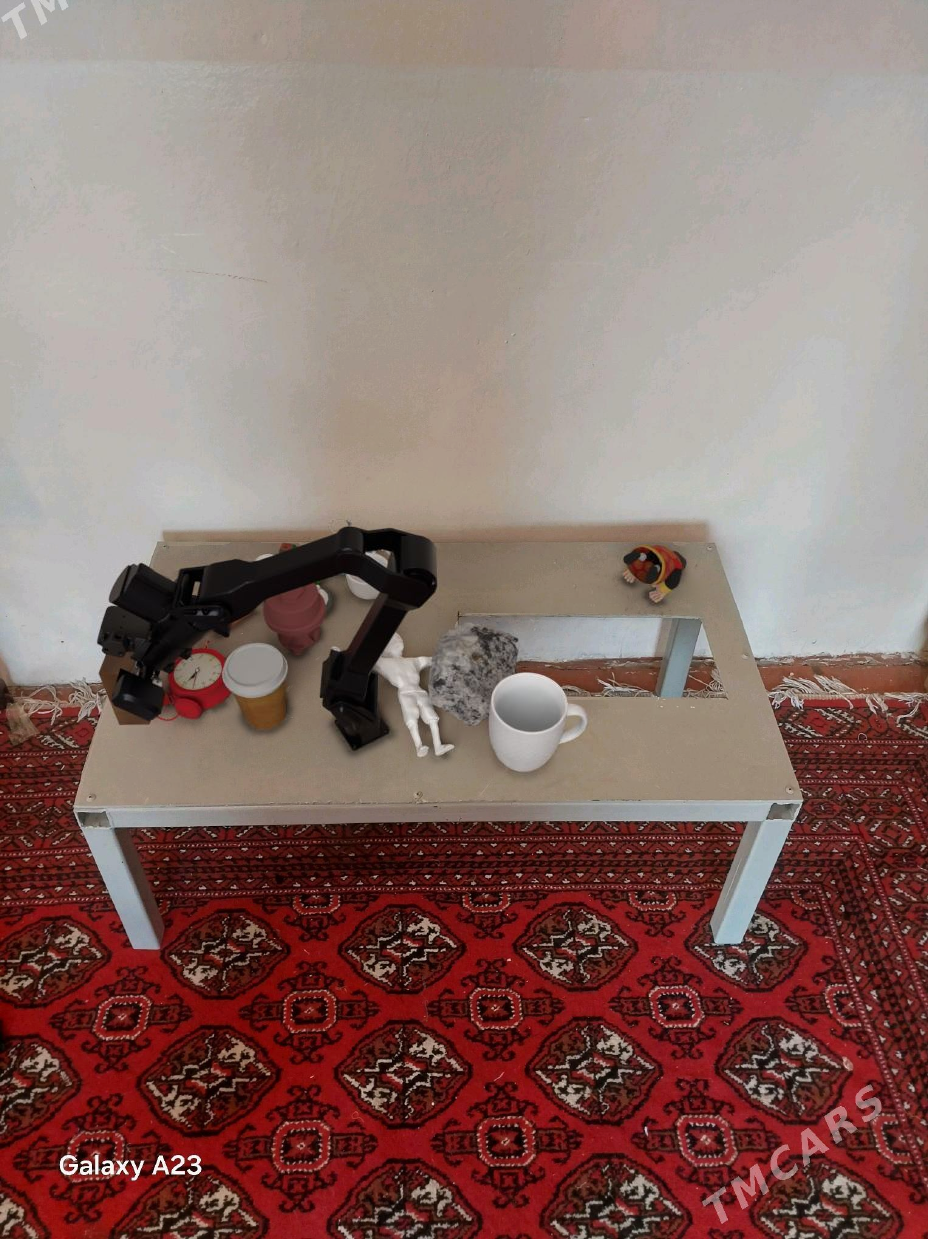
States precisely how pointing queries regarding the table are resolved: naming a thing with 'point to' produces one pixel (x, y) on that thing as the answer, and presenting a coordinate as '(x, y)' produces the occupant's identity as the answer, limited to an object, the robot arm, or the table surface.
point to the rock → (470, 669)
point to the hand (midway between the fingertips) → (118, 683)
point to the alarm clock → (197, 683)
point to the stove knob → (326, 597)
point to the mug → (530, 720)
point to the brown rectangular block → (109, 679)
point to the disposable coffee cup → (258, 683)
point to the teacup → (363, 588)
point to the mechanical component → (296, 617)
